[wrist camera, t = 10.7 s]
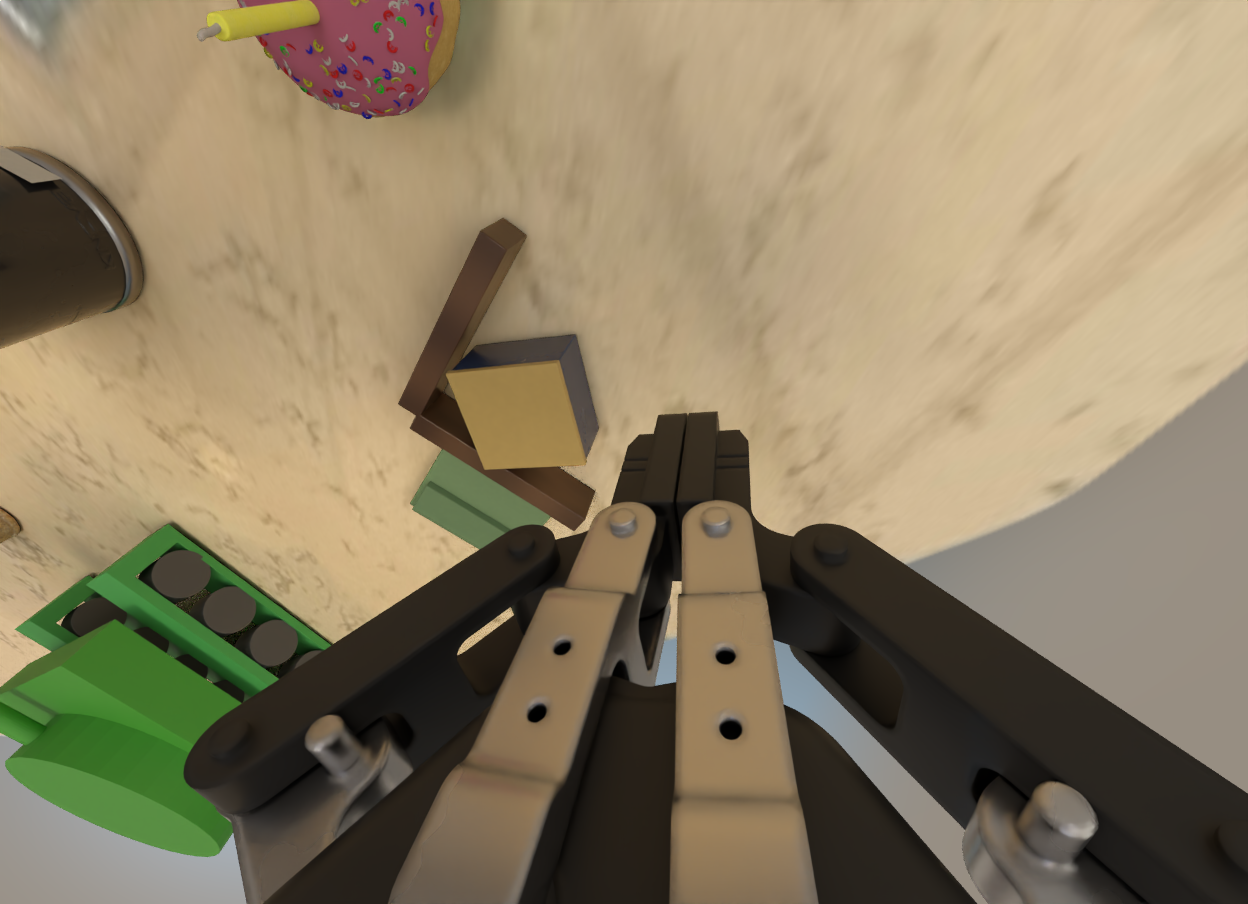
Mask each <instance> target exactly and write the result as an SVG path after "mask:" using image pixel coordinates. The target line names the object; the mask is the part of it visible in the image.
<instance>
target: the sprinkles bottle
mask: <svg viewBox="0 0 1248 904" xmlns="http://www.w3.org/2000/svg"><path fill="white" fill-rule="evenodd" d="M19 532H20V527H19V525H18V523H17V522H16V520H15V519H14V518H13V517H12V516H10V515H9V514H8V513H6V512H5V511H4V510H2V509H1V508H0V543H2V542H3V541H5V540H7V539H8V538H10V537H14V536H16V535H18V534H19Z"/></svg>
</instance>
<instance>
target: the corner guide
mask: <svg viewBox="0 0 1248 904" xmlns="http://www.w3.org/2000/svg"><path fill="white" fill-rule="evenodd" d="M526 236H527V235H526V234H524V233H523V232H522V231H520V230H519V229H518V228H516V227H515V226H514V225H512V224H511V223H510V222H508V221H507V220H506V219H504V218H502V219H500V220H498V221H497V222H495V223H493V224H491V225H490V226H488V227H486V228H484V229H483V230H481V231H480V232H479V235H478V237H477V239H476V241H475V243H474V245H473V247H472V249H471V251H470V253H469V256H468V258H467V260H466V262H465V264H464V266H463V268H462V270H461V272H460V274H459V277H458V279H457V281H456V283H455V285H454V287H453V289H452V291H451V293H450V296H449V298H448V300H447V302H446V304H445V306H444V308H443V310H442V312H441V314H440V317H439V319H438V321H437V323H436V325H435V327H434V329H433V331H432V333H431V335H430V338H429V340H428V342H427V344H426V346H425V348H424V350H423V352H422V354H421V356H420V359H419V361H418V363H417V365H416V367H415V369H414V371H413V373H412V375H411V378H410V380H409V382H408V384H407V386H406V388H405V390H404V392H403V394H402V396H401V399H400V401H399V403H398V404H399V405H400V406H402V407H403V408H405V409H407V410H408V411H410V412H411V413H413V414H414V415H416V417H415V419H414V421H413V423H412V424H411V426H410V429H411V430H413V431H415V432H416V433H418V434H419V435H421V436H423V437H424V438H426V439H427V440H429V441H431V442H432V443H434V444H435V445H437V446H439V447H440V448H442V449H443V450H445V451H447V452H448V453H450V454H451V455H453V456H455V457H456V458H458V459H459V460H461V461H463V462H464V463H466V464H467V465H469V466H471V467H472V468H474V469H475V470H477V471H479V472H480V473H482V474H483V475H485V476H487V477H488V478H490V479H491V480H493V481H495V482H496V483H498V484H499V485H501V486H503V487H504V488H506V489H507V490H509V491H511V492H512V493H514V494H515V495H517V496H519V497H520V498H522V499H523V500H525V501H527V502H528V503H530V504H531V505H533V506H535V507H536V508H538V509H539V510H541V511H543V512H544V513H546V514H547V515H549V516H551V517H552V518H554V519H555V520H557V521H559V522H560V523H562V524H563V525H565V526H567V527H568V528H570V529H571V530H573V531H575V530H576V529H577V528H578V527H579V526H580V524H581V523H582V522H583V521H584V520H585V519H586V516H587V513H588V510H589V507H590V505H591V502H592V499H593V496H594V494H595V491H594V490H592V489H590V488H589V487H587V486H586V485H584V484H583V483H581V482H580V481H578V480H577V479H575V478H574V477H572V476H570V475H569V474H567V473H566V472H564V471H563V470H561V469H560V468H558V467H534V468H511V469H488V470H485V469H484V467H483V465H482V462H481V460H480V457H479V455H478V452H477V450H476V447H475V445H474V443H473V440H472V438H471V435H470V433H469V430H468V428H467V425H466V423H465V420H464V418H463V416H462V413H461V411H460V408H459V406H458V403H457V401H455V400H454V399H452V398H450V397H449V396H447V395H446V394H444V393H443V391H444V389H445V387H446V385H447V384H448V382H449V381H448V379H447V376H446V373H447V372H448V371H451V370H452V369H453V368H454V367H455V366H456V365H457V364H458V363H459V361H460V359H461V358H462V356H463V354H464V352H465V350H466V348H467V346H468V345H469V343H470V341H471V339H472V337H473V335H474V333H475V332H476V330H477V328H478V326H479V324H480V322H481V320H482V319H483V317H484V315H485V313H486V311H487V309H488V307H489V306H490V304H491V302H492V300H493V298H494V296H495V294H496V292H497V291H498V289H499V287H500V285H501V283H502V281H503V279H504V278H505V276H506V274H507V272H508V270H509V268H510V266H511V265H512V263H513V261H514V259H515V257H516V255H517V253H518V252H519V250H520V248H521V246H522V244H523V242H524V240H525V239H526Z"/></svg>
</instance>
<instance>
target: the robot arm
mask: <svg viewBox="0 0 1248 904" xmlns="http://www.w3.org/2000/svg"><path fill="white" fill-rule="evenodd" d="M142 282H143V273H142V266H141V262H140V258H139V255H138V252H137V250H136V247H135V245H134V243H133V240H132V238H131V236H130V235H129V233H128V231H127V229H126V228H125V226H124V224H123V223H122V221H121V220H120V218H119V217H118V216H117V214H116V213H115V212H114V210H113V209H112V208H111V206H110V205H109V204H108V203H107V202H106V201H105V199H104V198H103V197H102V196H101V195H100V194H99V193H98V192H97V191H96V190H95V189H94V188H93V187H92V186H91V185H90V184H89V183H88V182H87V181H85V180H84V179H83V178H82V177H81V176H79V175H78V174H77V173H76V172H74V171H73V170H72V169H70V168H69V167H67V166H66V165H64V164H63V163H61V162H59V161H58V160H56V159H54V158H52V157H50V156H48V155H46V154H44V153H41V152H39V151H36V150H33V149H29V148H25V147H3V146H0V349H2V348H5V347H7V346H10V345H13V344H16V343H19V342H21V341H24V340H27V339H30V338H32V337H35V336H38V335H41V334H44V333H46V332H49V331H52V330H55V329H57V328H60V327H64V326H67V325H69V324H72V323H75V322H78V321H80V320H83V319H86V318H89V317H91V316H94V315H97V314H100V313H106V312H110V311H113V310H116V309H119V308H121V307H124V306H127V305H129V304H131V303H132V302H133V301H135V300H136V298H137V297H138V296H139V294H140V291H141V288H142ZM624 460H625V461H624V462H623V465H622V469H621V470H622V471H621V472H620V476H619V479H618V483H617V486H616V489H615V493H614V496H613V500H612V503H611V506H609V507H607V508H605V509H603V510H602V511H600V512H599V513H598V514H597V515H596V516H595V518H594V519H593V521H592V523H591V526H590V528H589V530H588V531H586V532H583V533H580V534H577V535H573V536H569V537H565V538H561V539H557V540H555V537H554V534H553V533H552V531H551V530H550V529H548V528H546V527H544V526H541V525H533V524H531V525H524V526H520V527H516V528H514V529H512V530H510V531H508V532H506V533H505V534H503V535H501V536H500V537H498V538H497V539H495V540H494V541H492V542H491V543H489V544H487V545H486V546H484V547H483V548H481V549H480V550H478V551H477V552H475V553H474V554H472V555H470V556H469V557H467V558H466V559H464V560H463V561H461V562H460V563H458V564H457V565H455V566H453V567H452V568H450V569H449V570H447V571H446V572H444V573H443V574H441V575H440V576H438V577H436V578H435V579H433V580H432V581H430V582H429V583H427V584H426V585H424V586H423V587H421V588H419V589H418V590H416V591H415V592H413V593H412V594H410V595H409V596H407V597H406V598H404V599H402V600H401V601H399V602H398V603H396V604H395V605H393V606H392V607H390V608H389V609H387V610H385V611H384V612H382V613H381V614H379V615H378V616H376V617H375V618H373V619H371V620H370V621H368V622H367V623H365V624H364V625H362V626H361V627H359V628H358V629H356V630H354V631H353V632H351V633H350V634H348V635H347V636H345V637H344V638H342V639H341V640H339V641H337V642H336V643H334V644H333V645H331V646H330V647H328V648H327V649H325V650H324V651H322V652H320V653H319V654H317V655H316V656H314V657H313V658H311V659H310V660H308V661H307V662H305V663H303V664H302V665H300V666H299V667H297V668H296V669H294V670H293V671H291V672H290V673H288V674H286V675H285V676H283V677H282V678H280V679H279V680H277V681H276V682H274V683H273V684H271V685H269V686H268V687H266V688H265V689H263V690H262V691H260V692H259V693H257V694H256V695H254V696H252V697H251V698H249V699H248V700H246V701H245V702H243V703H242V704H240V705H238V706H237V707H235V708H234V709H232V710H231V711H229V712H228V713H226V714H225V715H223V716H222V717H221V718H219V719H218V720H217V721H216V722H214V723H213V724H212V725H211V726H210V727H209V728H208V729H207V730H206V731H205V732H204V733H203V734H202V735H201V736H200V738H199V739H198V740H197V742H196V743H195V744H194V746H193V747H192V749H191V751H190V752H189V754H188V757H187V759H186V762H185V765H184V771H183V775H184V780H185V782H186V783H187V784H188V785H189V786H190V787H191V788H192V789H194V790H195V791H196V792H197V793H199V794H200V795H201V796H203V797H204V798H205V799H206V800H208V801H209V802H210V803H212V804H213V805H214V806H215V808H216V810H217V811H218V812H219V813H220V814H221V815H222V816H223V817H225V818H226V819H227V820H228V821H230V822H231V823H232V828H233V833H234V838H235V844H236V849H237V854H238V860H239V864H240V870H241V876H242V881H243V886H244V891H245V897H246V902H247V904H977V903H976V902H975V901H974V899H973V898H972V897H971V896H970V895H969V894H968V893H967V891H966V890H965V889H964V888H963V887H962V886H961V884H960V883H959V882H958V881H957V880H956V879H955V878H954V876H953V875H952V874H951V873H950V872H949V870H948V869H947V868H946V867H945V866H944V865H943V864H942V862H941V861H940V860H939V859H938V858H937V857H936V856H935V854H934V853H933V852H932V851H931V850H930V848H929V847H928V846H927V845H926V844H925V843H924V842H923V840H922V839H921V838H920V837H919V836H918V835H917V833H916V832H915V831H914V830H913V829H912V828H911V827H910V825H909V824H908V823H907V822H906V821H905V820H904V818H903V817H902V816H901V815H900V814H899V813H898V811H897V810H896V809H895V808H894V807H893V806H892V805H891V803H890V802H889V801H888V800H887V799H886V797H885V796H884V795H883V794H882V793H881V792H880V790H878V788H877V787H876V786H875V785H874V784H873V782H872V781H871V780H870V779H869V778H868V777H867V775H866V774H865V773H864V772H863V771H862V770H861V768H860V767H859V766H858V765H857V764H856V763H855V761H854V760H853V759H852V758H851V757H850V756H849V755H848V753H847V752H846V751H845V750H844V749H843V748H842V746H841V745H840V744H839V743H838V742H837V741H836V740H835V739H834V738H833V737H832V736H831V735H830V734H829V733H827V732H826V731H825V730H824V729H823V728H822V727H820V726H819V725H818V724H817V723H815V722H814V721H812V720H811V719H810V718H808V717H807V716H805V715H803V714H801V713H800V712H798V711H796V710H795V709H793V708H790V707H788V706H786V705H784V704H783V698H782V691H781V685H780V679H779V673H778V666H777V660H776V654H775V648H774V642H773V640H776V641H779V642H782V643H785V644H788V645H790V649H791V651H792V653H793V655H794V657H795V658H796V659H797V660H798V661H799V662H800V663H801V664H802V665H803V666H804V667H805V668H806V669H807V670H808V671H809V672H810V673H811V674H812V675H813V676H814V677H815V678H816V679H817V680H818V681H819V682H820V683H821V684H822V685H823V686H824V687H825V689H826V690H827V691H828V692H829V693H830V694H831V695H832V696H833V697H834V698H836V700H837V701H838V702H839V703H840V704H841V705H842V706H843V707H844V708H845V709H846V710H847V711H848V712H849V713H850V714H851V715H852V716H853V717H854V718H855V719H856V720H857V721H858V722H859V723H860V724H861V725H862V726H863V727H864V728H865V729H866V730H867V731H868V732H869V733H870V734H871V735H872V736H873V737H874V738H875V739H876V740H877V741H878V742H879V743H880V744H881V745H882V746H883V747H884V748H885V749H886V750H887V751H888V752H889V753H890V754H891V755H892V756H893V757H894V758H895V759H896V760H897V761H898V762H899V763H900V764H901V766H903V768H904V769H905V770H907V771H908V773H909V774H910V775H911V776H912V777H913V778H914V779H915V780H916V781H917V782H918V783H919V784H920V785H921V786H922V787H923V788H924V789H925V790H926V791H927V792H928V793H929V794H930V795H931V796H932V797H933V798H934V799H935V800H936V801H937V802H938V803H939V804H940V805H941V806H942V807H943V808H944V809H945V810H946V811H947V812H948V813H949V814H950V815H951V816H952V817H953V818H954V819H955V820H956V821H957V822H958V823H959V824H960V825H961V826H962V827H963V828H964V829H965V832H964V836H963V841H962V843H963V844H962V850H963V856H964V861H965V865H966V867H967V870H968V873H969V875H970V877H971V879H972V881H973V883H974V884H975V886H976V888H977V889H978V891H979V892H980V893H981V895H982V896H983V898H984V899H985V900H986V901H987V903H988V904H1248V793H1246V792H1245V791H1243V790H1242V789H1240V788H1239V787H1237V786H1236V785H1234V784H1232V783H1231V782H1230V781H1228V780H1226V779H1225V778H1224V777H1222V776H1221V775H1219V774H1218V773H1216V772H1215V771H1213V770H1212V769H1210V768H1209V767H1207V766H1206V765H1204V764H1203V763H1201V762H1200V761H1198V760H1197V759H1195V758H1194V757H1192V756H1190V755H1189V754H1188V753H1186V752H1185V751H1183V750H1182V749H1180V748H1179V747H1177V746H1176V745H1174V744H1173V743H1171V742H1170V741H1168V740H1167V739H1165V738H1164V737H1162V736H1161V735H1159V734H1158V733H1156V732H1155V731H1153V730H1152V729H1150V728H1149V727H1147V726H1146V725H1144V724H1143V723H1141V722H1140V721H1138V720H1137V719H1135V718H1134V717H1132V716H1131V715H1129V714H1128V713H1126V712H1125V711H1123V710H1122V709H1120V708H1119V707H1117V706H1116V705H1114V704H1113V703H1111V702H1110V701H1108V700H1107V699H1105V698H1104V697H1102V696H1101V695H1099V694H1098V693H1096V692H1095V691H1093V690H1092V689H1090V688H1089V687H1087V686H1086V685H1084V684H1083V683H1081V682H1080V681H1078V680H1077V679H1076V678H1074V677H1072V676H1071V675H1070V674H1068V673H1066V672H1065V671H1063V670H1062V669H1060V668H1059V667H1057V666H1056V665H1054V664H1053V663H1051V662H1050V661H1049V660H1047V659H1045V658H1044V657H1043V656H1041V655H1039V654H1038V653H1037V652H1035V651H1033V650H1032V649H1031V648H1029V647H1028V646H1026V645H1025V644H1023V643H1022V642H1020V641H1018V640H1017V639H1016V638H1014V637H1013V636H1011V635H1010V634H1008V633H1007V632H1005V631H1004V630H1002V629H1001V628H999V627H998V626H996V625H995V624H993V623H992V622H990V621H989V620H987V619H986V618H984V617H983V616H981V615H980V614H978V613H977V612H975V611H974V610H972V609H970V608H969V607H968V606H966V605H965V604H963V603H962V602H960V601H959V600H957V599H956V598H954V597H953V596H951V595H950V594H948V593H947V592H945V591H944V590H942V589H941V588H939V587H938V586H936V585H935V584H933V583H932V582H930V581H929V580H927V579H926V578H924V577H923V576H921V575H920V574H918V573H917V572H915V571H914V570H912V569H911V568H909V567H908V566H907V565H905V564H904V563H902V562H901V561H899V560H898V559H896V558H895V557H893V556H892V555H890V554H889V553H887V552H886V551H884V550H883V549H881V548H880V547H878V546H877V545H875V544H874V543H872V542H871V541H869V540H868V539H866V538H865V537H863V536H862V535H860V534H859V533H857V532H855V531H854V530H852V529H849V528H847V527H844V526H840V525H835V524H816V525H811V526H808V527H806V528H803V529H802V530H800V531H799V532H797V533H796V534H795V536H794V537H792V536H788V535H784V534H780V533H777V532H774V531H771V530H769V529H767V528H766V527H764V526H763V525H761V524H760V523H759V522H758V521H757V520H756V519H755V517H754V516H753V514H752V511H751V497H750V472H749V446H748V440H747V439H746V438H745V436H744V435H743V434H742V433H741V432H740V430H726V431H719V419H718V412H700V413H689V414H688V415H687V413H683V414H665V415H658V418H657V422H656V427H655V431H654V434H643V435H638V437H637V438H636V439H635V440H634V441H633V442H632V443H631V444H630V445H629V446H628V448H627V452H626V455H625V459H624ZM672 581H682V592H681V594H679V595H678V610H677V675H676V679H677V680H676V682H675V683H669V684H663V685H658V686H655V681H656V676H657V672H658V667H659V663H660V657H661V653H662V648H663V644H664V639H665V634H666V630H667V625H668V620H669V616H670V610H671V606H670V595H671V588H672ZM510 607H511V608H512V611H513V613H514V616H512V617H511V618H510V619H508V620H507V621H506V622H504V623H503V624H501V625H500V626H499V627H497V628H496V629H495V630H493V631H492V632H491V633H489V634H488V635H487V636H485V637H484V638H483V639H481V640H480V641H479V642H477V643H476V644H475V645H473V646H472V647H471V648H469V649H468V650H467V651H465V652H464V653H462V654H460V655H457V653H458V650H459V648H460V646H461V645H462V643H463V642H464V641H465V640H466V639H467V638H469V637H470V636H471V635H473V634H474V633H475V632H477V631H478V630H480V629H481V628H482V627H484V626H485V625H486V624H488V623H489V622H490V621H492V620H493V619H495V618H496V617H497V616H499V615H500V614H501V613H503V612H504V611H505V610H507V609H508V608H510Z"/></svg>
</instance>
